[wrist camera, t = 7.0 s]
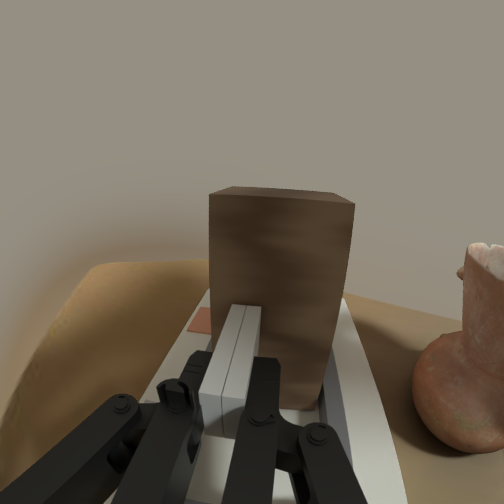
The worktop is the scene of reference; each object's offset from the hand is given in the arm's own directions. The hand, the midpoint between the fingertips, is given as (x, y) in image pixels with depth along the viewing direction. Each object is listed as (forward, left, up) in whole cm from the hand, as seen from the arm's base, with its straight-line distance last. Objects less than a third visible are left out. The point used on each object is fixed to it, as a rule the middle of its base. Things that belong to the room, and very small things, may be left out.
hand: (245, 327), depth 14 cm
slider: (-1, -3, -7) cm, 8 cm away
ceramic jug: (-20, 0, -10) cm, 23 cm away
